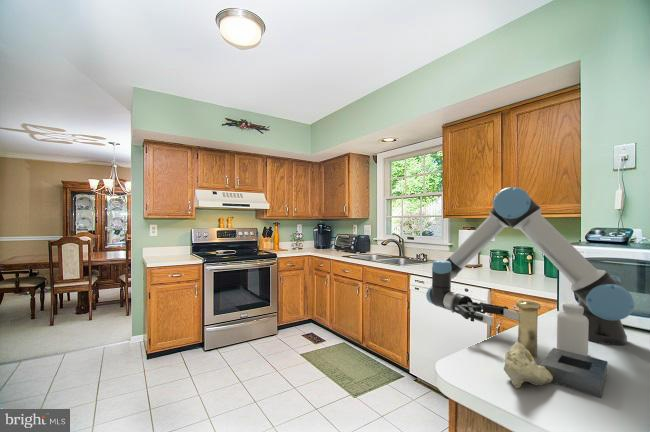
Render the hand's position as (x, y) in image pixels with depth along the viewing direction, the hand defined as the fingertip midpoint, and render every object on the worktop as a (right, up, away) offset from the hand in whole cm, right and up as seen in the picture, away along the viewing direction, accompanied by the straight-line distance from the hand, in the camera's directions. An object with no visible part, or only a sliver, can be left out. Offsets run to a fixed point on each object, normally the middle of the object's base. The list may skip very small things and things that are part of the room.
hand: (507, 319), depth 105 cm
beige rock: (-11, -8, -26) cm, 30 cm away
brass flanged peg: (+3, -9, -6) cm, 11 cm away
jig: (+6, -9, -21) cm, 23 cm away
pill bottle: (+18, -10, -4) cm, 21 cm away
